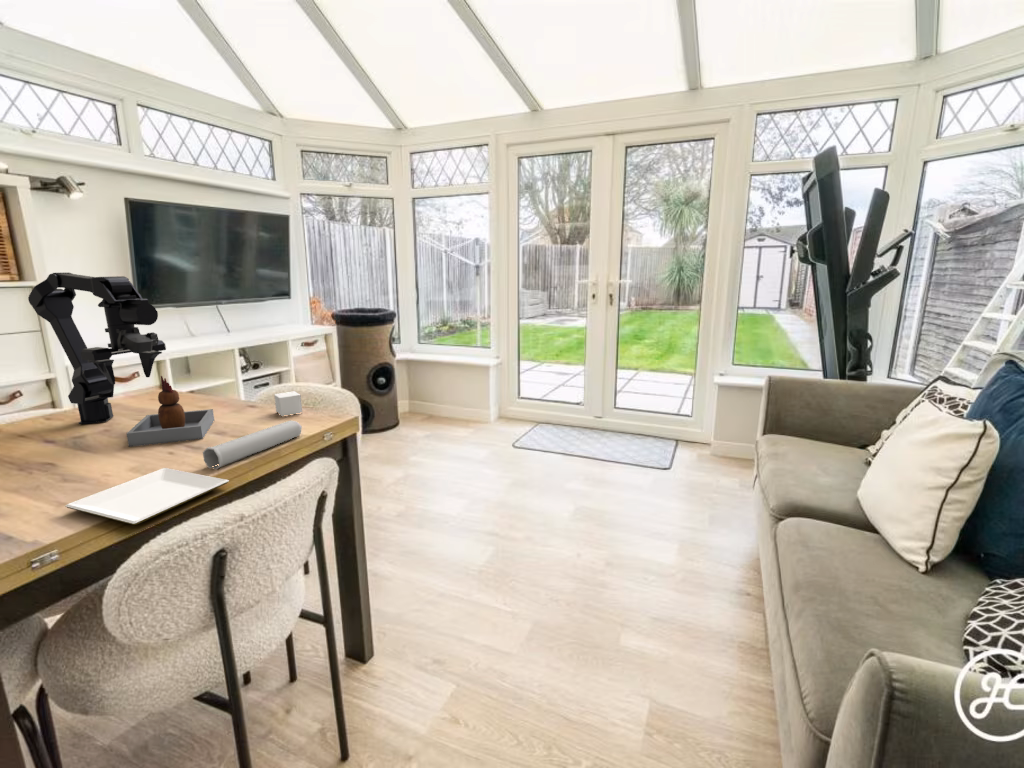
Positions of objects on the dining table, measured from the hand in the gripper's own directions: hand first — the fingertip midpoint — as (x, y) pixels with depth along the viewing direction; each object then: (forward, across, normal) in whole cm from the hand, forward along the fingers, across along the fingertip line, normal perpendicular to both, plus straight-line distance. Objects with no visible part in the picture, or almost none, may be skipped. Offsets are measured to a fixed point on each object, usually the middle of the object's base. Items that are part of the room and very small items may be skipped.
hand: (131, 380), depth 138 cm
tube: (+14, -4, -47) cm, 49 cm away
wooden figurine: (+13, -1, -15) cm, 20 cm away
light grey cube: (+13, +24, -31) cm, 41 cm away
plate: (+14, -31, -50) cm, 60 cm away
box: (+13, -1, -16) cm, 20 cm away
